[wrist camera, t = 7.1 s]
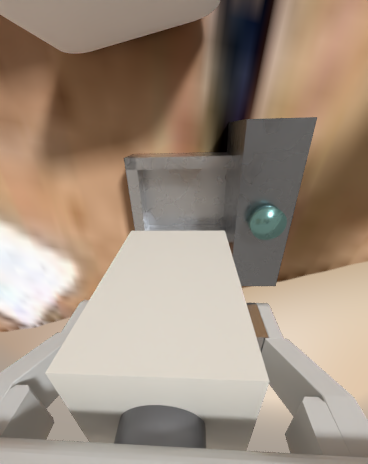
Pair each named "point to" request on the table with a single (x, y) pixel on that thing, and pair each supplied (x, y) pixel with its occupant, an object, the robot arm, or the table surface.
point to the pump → (165, 348)
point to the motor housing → (229, 191)
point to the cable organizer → (100, 19)
